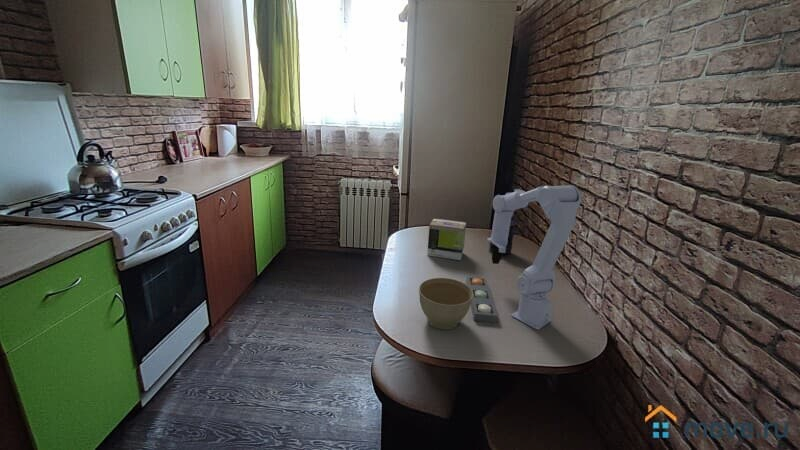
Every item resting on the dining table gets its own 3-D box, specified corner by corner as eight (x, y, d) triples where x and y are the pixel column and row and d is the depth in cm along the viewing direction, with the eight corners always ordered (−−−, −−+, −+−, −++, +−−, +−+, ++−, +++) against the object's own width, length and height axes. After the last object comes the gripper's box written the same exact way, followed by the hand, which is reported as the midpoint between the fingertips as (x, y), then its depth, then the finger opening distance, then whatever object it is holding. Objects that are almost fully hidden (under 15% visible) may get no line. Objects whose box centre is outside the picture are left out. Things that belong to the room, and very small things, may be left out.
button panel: (496, 322, 113) (497, 315, 112) (473, 320, 113) (474, 313, 112) (484, 284, 136) (485, 278, 135) (466, 282, 136) (466, 276, 136)
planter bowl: (419, 303, 120) (421, 274, 117) (468, 310, 118) (472, 281, 115) (413, 332, 105) (416, 300, 102) (469, 340, 103) (474, 308, 100)
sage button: (486, 301, 122) (487, 296, 122) (475, 300, 122) (475, 295, 122) (485, 295, 126) (485, 290, 125) (473, 294, 126) (474, 289, 126)
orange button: (483, 288, 131) (483, 283, 130) (471, 287, 131) (472, 283, 130) (481, 283, 134) (482, 278, 134) (470, 282, 135) (471, 277, 134)
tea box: (463, 252, 163) (467, 221, 159) (460, 261, 154) (464, 229, 149) (430, 247, 167) (433, 217, 162) (426, 255, 158) (429, 224, 153)
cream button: (491, 317, 114) (492, 311, 113) (478, 315, 114) (479, 310, 113) (489, 310, 118) (490, 304, 117) (476, 308, 118) (477, 303, 117)
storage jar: (513, 257, 161) (518, 226, 156) (491, 256, 161) (496, 224, 156) (507, 248, 171) (512, 219, 166) (486, 247, 171) (491, 217, 166)
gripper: (486, 220, 135) (481, 254, 139) (492, 234, 121) (487, 270, 125) (505, 222, 134) (500, 255, 139) (514, 236, 121) (507, 272, 125)
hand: (495, 263), depth 132 cm, fingers closed
